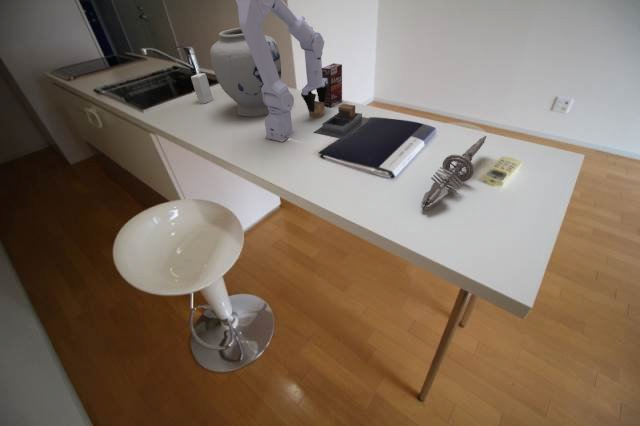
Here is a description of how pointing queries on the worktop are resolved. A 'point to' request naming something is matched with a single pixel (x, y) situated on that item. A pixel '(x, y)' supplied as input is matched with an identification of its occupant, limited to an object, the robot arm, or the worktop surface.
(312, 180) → the worktop surface
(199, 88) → the skincare box
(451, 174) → the spaceship
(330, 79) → the supplement box
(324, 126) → the board
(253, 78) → the white ceramic vase
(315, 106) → the oak block
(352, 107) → the brown wooden block
